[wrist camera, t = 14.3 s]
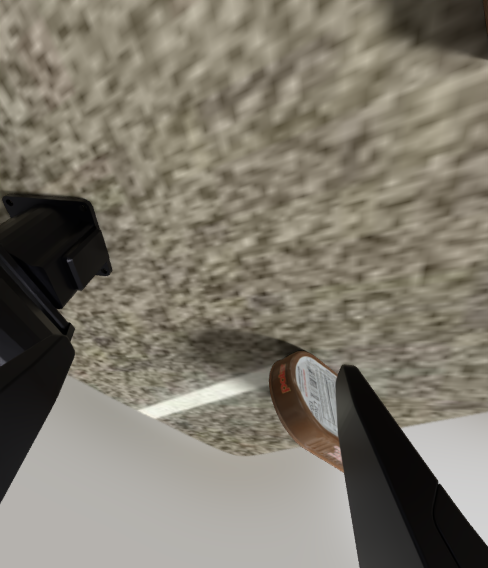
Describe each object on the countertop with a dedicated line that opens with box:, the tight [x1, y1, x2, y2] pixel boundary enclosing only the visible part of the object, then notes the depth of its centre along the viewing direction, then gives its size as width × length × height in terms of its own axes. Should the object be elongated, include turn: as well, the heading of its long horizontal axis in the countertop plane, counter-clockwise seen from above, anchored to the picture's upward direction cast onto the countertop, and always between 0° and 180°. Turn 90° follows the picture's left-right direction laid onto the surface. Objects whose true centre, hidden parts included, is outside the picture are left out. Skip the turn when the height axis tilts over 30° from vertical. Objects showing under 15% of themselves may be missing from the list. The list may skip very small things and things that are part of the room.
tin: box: [269, 351, 344, 473], centre depth 28 cm, size 15×3×8 cm, turn 46°
